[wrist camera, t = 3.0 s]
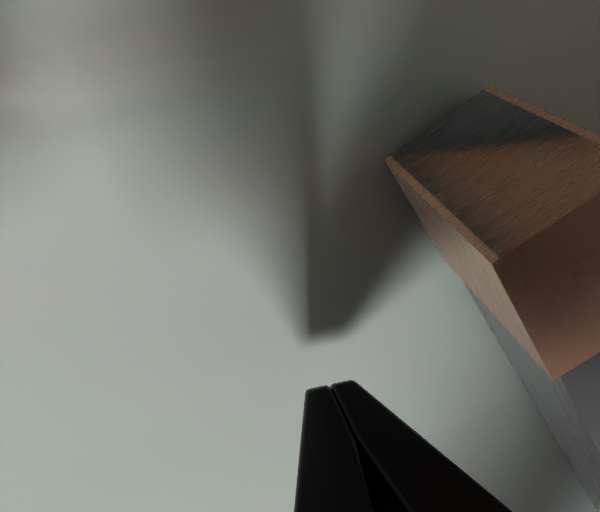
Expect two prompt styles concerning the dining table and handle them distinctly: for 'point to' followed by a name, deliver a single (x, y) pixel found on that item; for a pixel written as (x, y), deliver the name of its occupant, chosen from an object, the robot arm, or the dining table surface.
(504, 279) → the bar
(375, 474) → the robot arm
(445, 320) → the dining table surface
